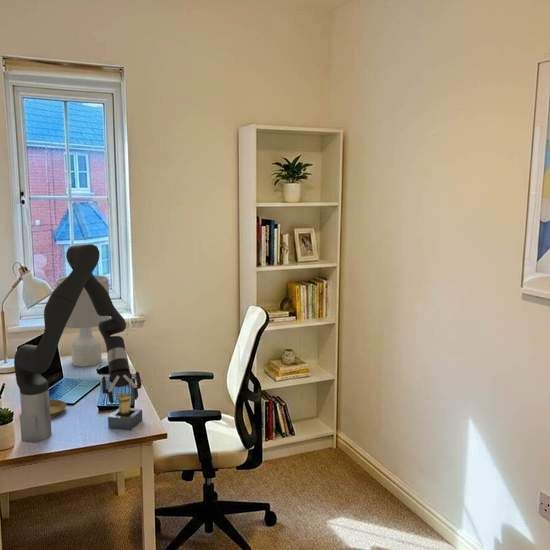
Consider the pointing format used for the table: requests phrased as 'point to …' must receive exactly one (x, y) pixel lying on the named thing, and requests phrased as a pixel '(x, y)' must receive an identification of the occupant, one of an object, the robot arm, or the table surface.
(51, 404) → the plant saucer
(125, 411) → the brass flared peg
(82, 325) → the lamp
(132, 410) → the box
